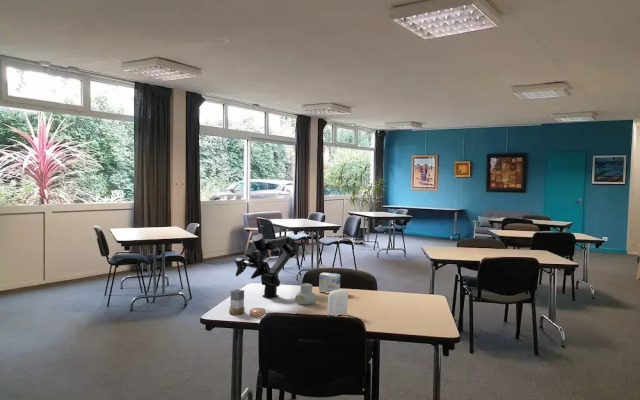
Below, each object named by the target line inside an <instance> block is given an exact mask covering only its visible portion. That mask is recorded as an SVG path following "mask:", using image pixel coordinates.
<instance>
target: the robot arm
mask: <svg viewBox="0 0 640 400" xmlns="http://www.w3.org/2000/svg"><path fill="white" fill-rule="evenodd" d="M251 241H252V244H253V248H254V249H253V248H247V249H246V251H245V253H244V255H245V256H246V257H247V259H246V260H247V261H245V259H244V258H241V257H237V258H235V261H234V262H235V264H236V265H235V266H236V267H237V268H236V272H235V276H236V277H238V276H239V275H241V274H242V273H243V272H245V270H246V269H247V267H249V268H251V269H254V270H255V271H254V272H253V273H252V274H251V276H250V278H251V280H253V279H256V278H258V277H260V281H261V285H262V286H264V290H263V291H264V292H263V295H261V296H262V297H264V298H268V299H275V298H277V297H280V295H278V293H277V291H278V290H277V289H278V287H280V285H281V281H280V279H279V273H280V272H281V271H282V270H283V268H284V266H286V264H287V263H288V261H290V259H291V258H293V257H295V256H296V255H298V253H299V250H300V248H299V245H298V243H297V242H295V240H293V239H292V237H290V236H281V237H279V238H274V239H267V238H265V237H264V234H263V233H258V234H255V235H254V236H252V237H251ZM278 247H281V248H282V251H283V252H282V253H281V255H280V256H279V257H278V258H277V259H276V261H275V262H274V264H273V265H272V266H271V267H270V265H269V262H268V261H265V259H267V258H268V259H270V252H269V251H271V252H274V251H275V250H277V249H278Z"/></svg>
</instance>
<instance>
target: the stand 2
mask: <svg viewBox="0 0 640 400" xmlns="http://www.w3.org/2000/svg"><path fill="white" fill-rule="evenodd" d="M264 314H265V315H266V309H265V308H263V307H253V308H250V309H249V316H250V317H251V318H255V317H256V319H257V318H258V317H260V318H262V317H261V316H263V315H264ZM258 319H259V318H258Z"/></svg>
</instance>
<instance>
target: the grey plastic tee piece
mask: <svg viewBox="0 0 640 400" xmlns="http://www.w3.org/2000/svg"><path fill="white" fill-rule="evenodd" d="M295 301H296V302H297V303H298V304H299V305H301V306H309V305H313V304H314V303H316V301H317V295H316V294H315V293H314V292H313V284H311V283H301V285H300V292H298V293H297V294H296V295H295Z"/></svg>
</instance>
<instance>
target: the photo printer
mask: <svg viewBox="0 0 640 400" xmlns="http://www.w3.org/2000/svg"><path fill="white" fill-rule="evenodd" d="M348 298H349V293H348V291H347V290H345V289H341V288H340V289H338V290H334V291H331V292H330V293H329V294H327V310H326V314H329V315H342V316H345V315H344V314H347V315H348V303H349V301H348V300H349V299H348Z"/></svg>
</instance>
